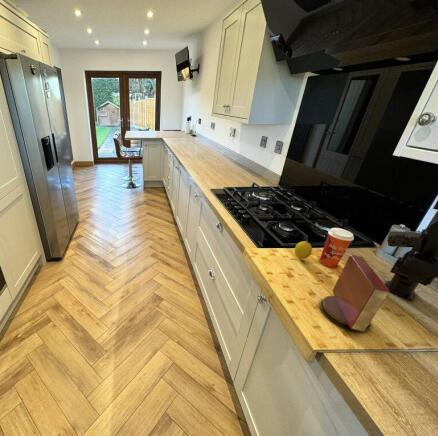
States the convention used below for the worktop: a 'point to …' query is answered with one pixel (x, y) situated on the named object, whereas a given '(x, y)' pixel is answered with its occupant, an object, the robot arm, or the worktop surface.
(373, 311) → the book stand
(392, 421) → the worktop surface
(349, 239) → the paper cup
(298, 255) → the lemon
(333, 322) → the turntable base
